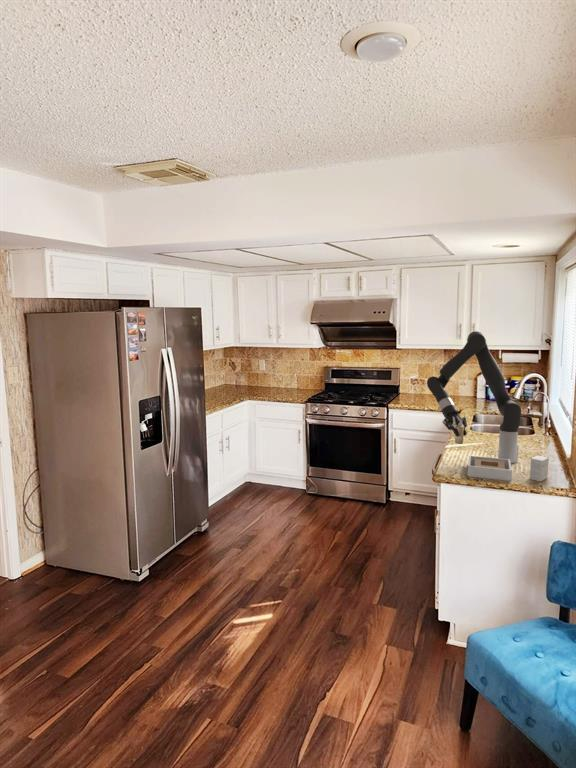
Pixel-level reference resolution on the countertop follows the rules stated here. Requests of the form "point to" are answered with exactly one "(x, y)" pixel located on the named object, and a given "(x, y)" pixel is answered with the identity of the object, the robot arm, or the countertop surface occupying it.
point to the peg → (460, 438)
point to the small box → (539, 468)
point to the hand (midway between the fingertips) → (461, 435)
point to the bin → (489, 468)
